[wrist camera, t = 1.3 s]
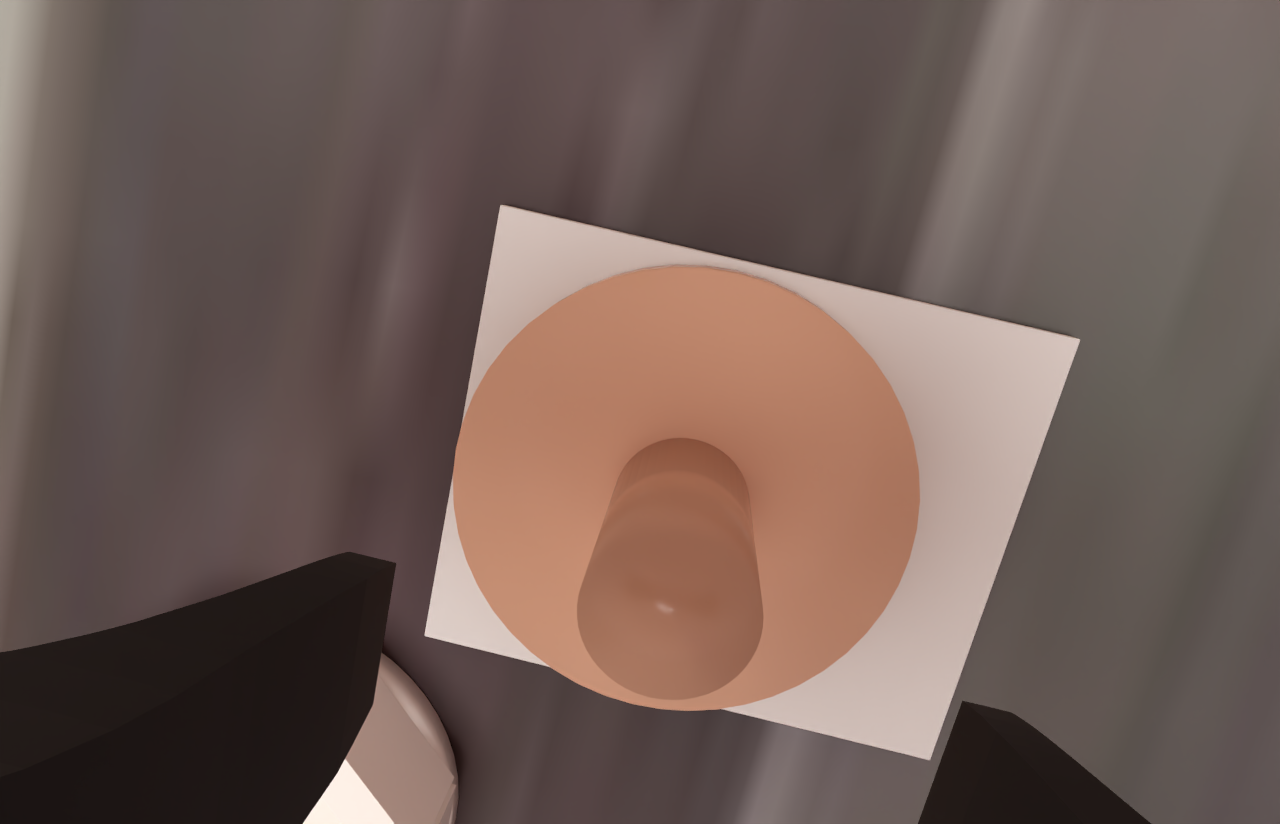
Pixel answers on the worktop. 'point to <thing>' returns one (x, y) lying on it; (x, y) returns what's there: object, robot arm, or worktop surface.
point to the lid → (686, 488)
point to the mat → (945, 449)
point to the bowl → (394, 762)
